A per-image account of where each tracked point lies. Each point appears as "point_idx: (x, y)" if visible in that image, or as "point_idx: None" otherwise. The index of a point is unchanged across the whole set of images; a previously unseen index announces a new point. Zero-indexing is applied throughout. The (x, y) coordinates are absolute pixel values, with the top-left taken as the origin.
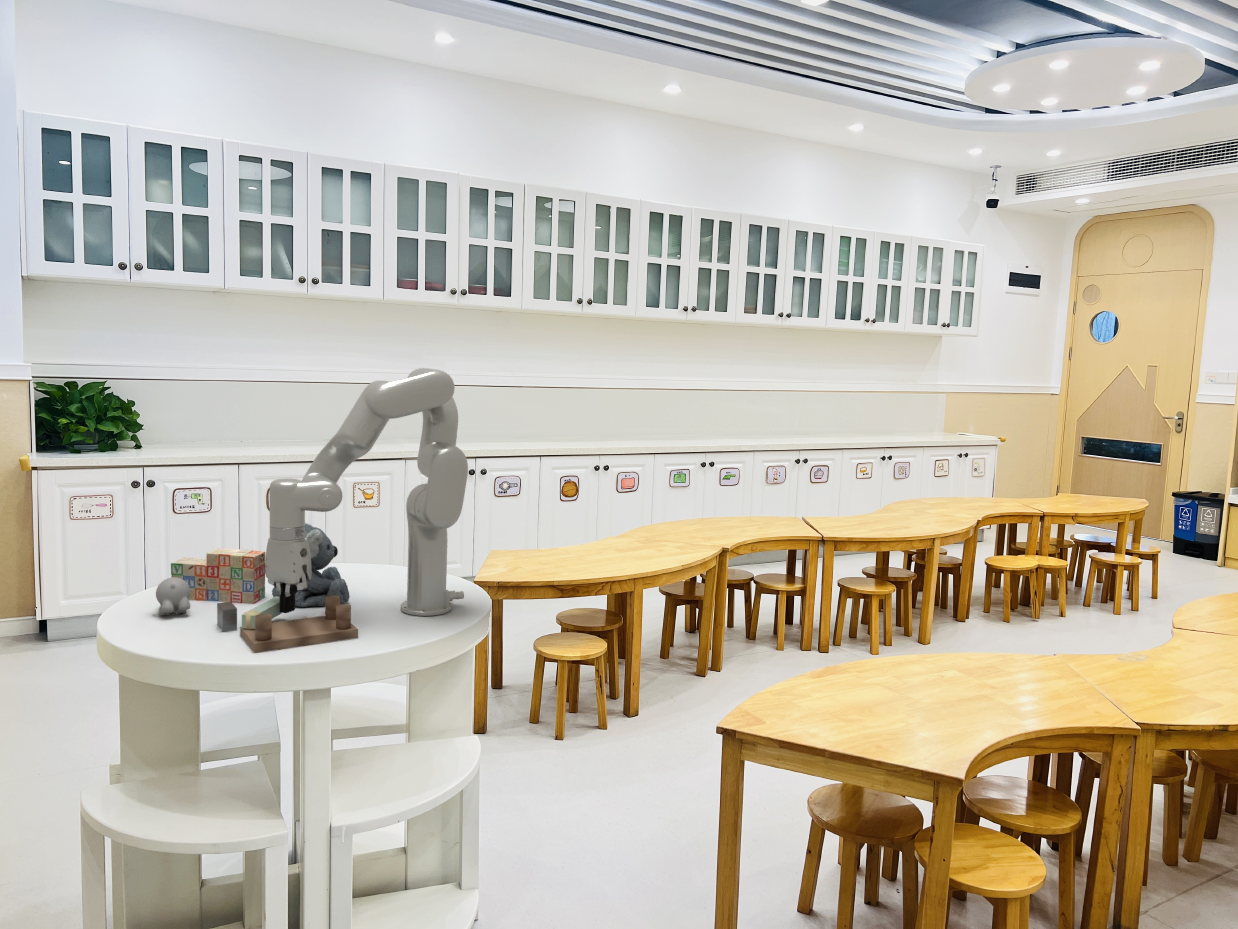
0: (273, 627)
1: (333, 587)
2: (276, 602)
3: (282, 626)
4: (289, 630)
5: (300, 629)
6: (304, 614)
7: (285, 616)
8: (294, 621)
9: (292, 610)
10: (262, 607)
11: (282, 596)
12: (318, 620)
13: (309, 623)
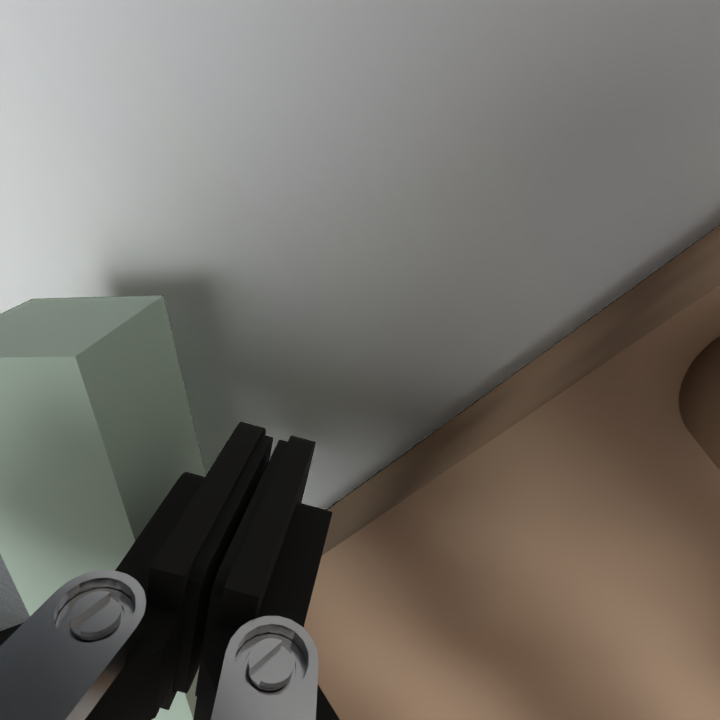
0: (345, 674)
1: None
2: None
3: (393, 652)
4: (489, 709)
5: (561, 689)
6: (248, 31)
7: (123, 176)
8: (420, 550)
9: (308, 469)
10: None
11: (179, 691)
12: (630, 488)
13: (576, 573)
